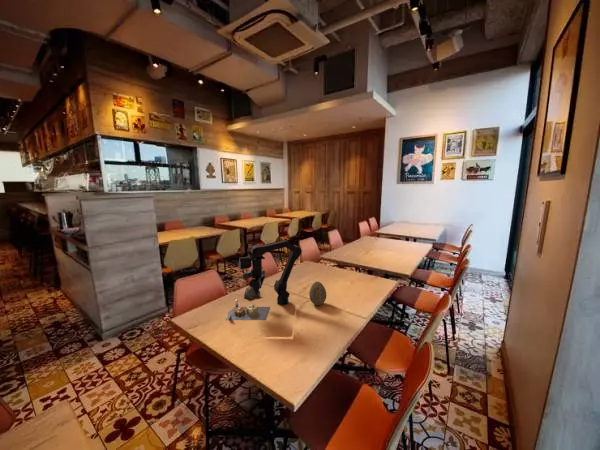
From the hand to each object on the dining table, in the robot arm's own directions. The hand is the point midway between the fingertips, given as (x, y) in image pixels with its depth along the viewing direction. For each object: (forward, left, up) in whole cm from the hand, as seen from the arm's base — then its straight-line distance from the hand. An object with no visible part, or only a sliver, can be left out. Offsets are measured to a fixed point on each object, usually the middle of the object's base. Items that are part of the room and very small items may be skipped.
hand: (258, 291), depth 145 cm
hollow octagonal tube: (+3, +5, -11) cm, 13 cm away
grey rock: (+8, -17, -12) cm, 22 cm away
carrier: (+5, +5, -12) cm, 14 cm away
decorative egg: (-36, -7, -12) cm, 39 cm away
